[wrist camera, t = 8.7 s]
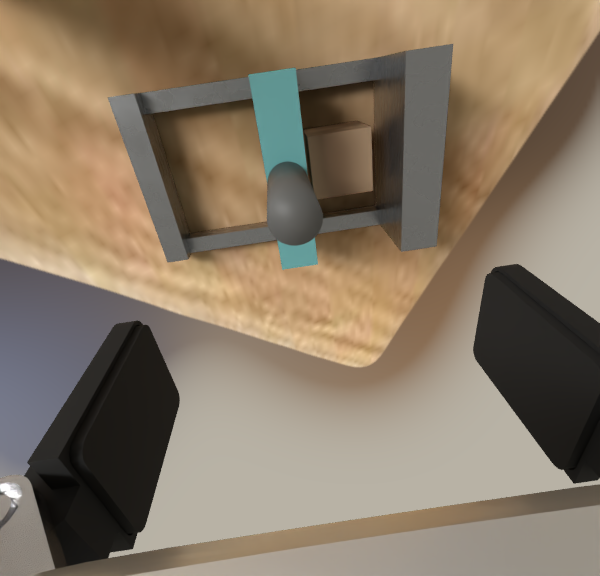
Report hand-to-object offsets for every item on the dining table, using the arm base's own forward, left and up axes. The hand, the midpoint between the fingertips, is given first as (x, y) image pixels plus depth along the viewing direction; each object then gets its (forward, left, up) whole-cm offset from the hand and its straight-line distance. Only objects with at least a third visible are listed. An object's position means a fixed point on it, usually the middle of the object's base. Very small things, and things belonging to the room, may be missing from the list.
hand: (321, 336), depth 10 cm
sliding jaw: (0, 0, -24) cm, 24 cm away
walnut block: (-4, 0, -26) cm, 27 cm away
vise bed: (+1, 0, -26) cm, 26 cm away
